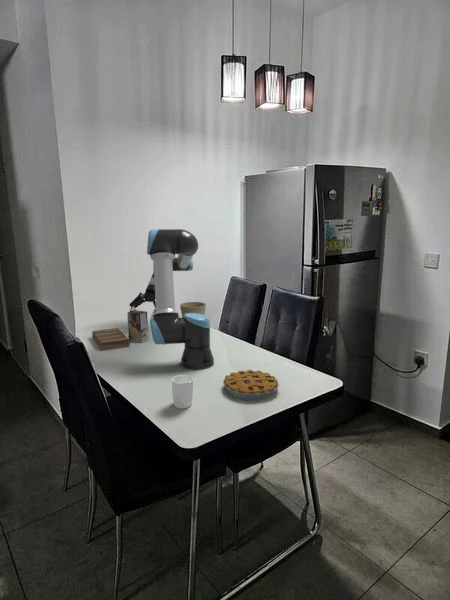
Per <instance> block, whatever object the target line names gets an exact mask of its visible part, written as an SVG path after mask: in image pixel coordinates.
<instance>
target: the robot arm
mask: <svg viewBox="0 0 450 600" xmlns="http://www.w3.org/2000/svg"><path fill="white" fill-rule="evenodd" d="M198 250H199V241H198V239H197V237H196V236H195V235H194V234H193V233H191V232H190V231H188V230H185V229H179V228H178V229H172V228H171V229H169V228H168V229H167V228H165V229H160V228H158V229H150V230H149V232H148V235H147V246H146V254H147V255H149V257H150V260H152V261H153V271H152V275H151V277H150V280H149V282H148V285H147V286H146V289H145V291H144V293H142V292H139V294H138V295H137V296H136V297H135V298H134V299H133V300H132V301H131V302H130V303H129V304H128V305H129V307H130V310H129V312H130V311H133V310H137V308H139V307H140V305H142V304H144V303H146V302H149V303H152V304H153V306H154V308H153V310H152V312H151V314H150V317H149V323H150V324H149V325H150V331H151V336H152V341H153V343H154V344H155V345H165V346H166V345H174V344H177V345H178V344H184V349H183V351H182V355H181V359H180V365H181V366H182V367H184V369H185V368H186V369H189V370H190V369H191V370H204V369H208V368H211V367H213V365H214V364H215V360H214V355H213V353H212V349H211V323H210V322H211V321H210V318H209V317H208V316H207V315H205V314H204V315H202V314H198V313H186V314H185V315H184V317H180V316H179V315H180V314H179V312H178V311H176V304H175V302H176V301H175V289H174V288H175V285H174V272H190V271H193V269H194V260H193V257H194V255H195V254H196V253H197V251H198ZM176 255H177V257H176Z"/></svg>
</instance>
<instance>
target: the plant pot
mask: <svg viewBox="0 0 450 600" xmlns="http://www.w3.org/2000/svg"><path fill="white" fill-rule="evenodd" d="M206 305H207V304H206V303H205V302H202V301H201V302H200V301H186V302H182V303H180V304H179V307H180V308H179V309H180V312H181V318H183V317H184V315H185V314H186V313H198V314H202V315H205V312H206Z"/></svg>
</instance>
